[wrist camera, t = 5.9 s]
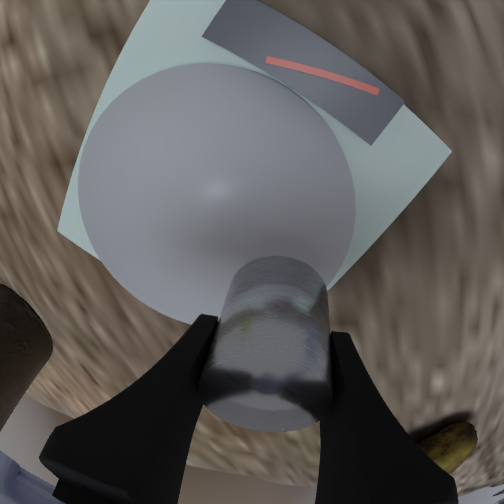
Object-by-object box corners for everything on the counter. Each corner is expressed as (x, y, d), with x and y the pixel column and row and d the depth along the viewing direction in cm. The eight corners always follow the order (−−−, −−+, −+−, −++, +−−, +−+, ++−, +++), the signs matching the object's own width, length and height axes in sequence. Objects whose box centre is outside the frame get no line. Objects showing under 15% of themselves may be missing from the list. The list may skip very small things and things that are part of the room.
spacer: (233, 247, 12) (197, 345, 8) (338, 265, 12) (351, 370, 8) (225, 324, 14) (198, 419, 10) (314, 339, 14) (312, 437, 10)
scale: (180, -26, 11) (161, -40, 9) (442, 145, 13) (463, 158, 11) (66, 228, 19) (45, 246, 17) (259, 345, 21) (254, 372, 19)
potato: (473, 433, 26) (485, 491, 19) (373, 467, 31) (375, 524, 24) (470, 404, 23) (488, 474, 16) (351, 446, 28) (352, 514, 21)
